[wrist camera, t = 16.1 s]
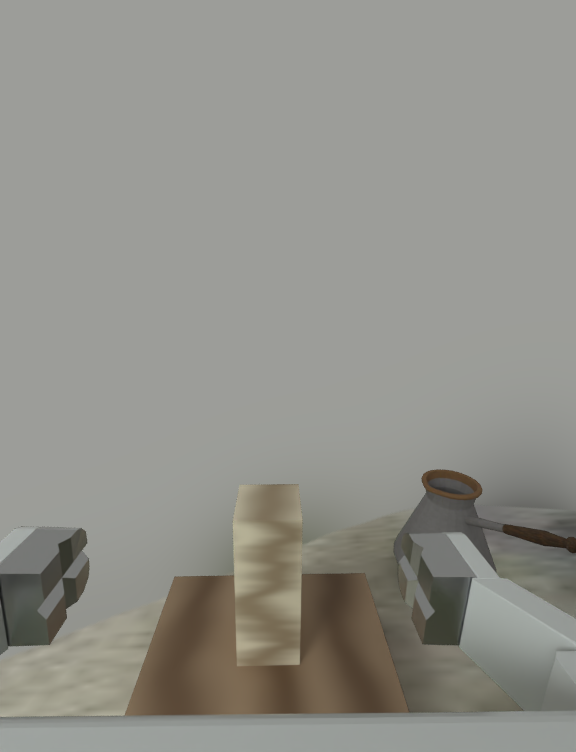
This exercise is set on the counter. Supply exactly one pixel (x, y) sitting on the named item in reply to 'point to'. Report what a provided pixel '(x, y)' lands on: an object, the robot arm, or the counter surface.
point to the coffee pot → (464, 515)
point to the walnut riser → (275, 682)
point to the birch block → (268, 574)
